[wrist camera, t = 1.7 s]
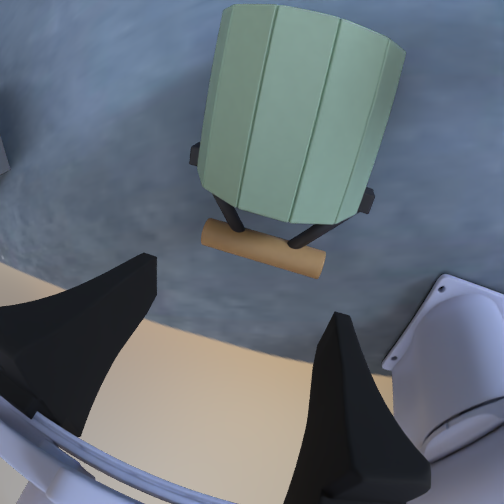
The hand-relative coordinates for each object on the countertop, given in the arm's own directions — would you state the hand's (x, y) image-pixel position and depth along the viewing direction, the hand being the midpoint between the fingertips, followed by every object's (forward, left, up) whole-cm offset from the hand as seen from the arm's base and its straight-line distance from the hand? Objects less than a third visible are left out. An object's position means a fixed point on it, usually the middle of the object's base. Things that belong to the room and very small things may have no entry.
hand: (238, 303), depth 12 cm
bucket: (+10, 0, -4) cm, 11 cm away
